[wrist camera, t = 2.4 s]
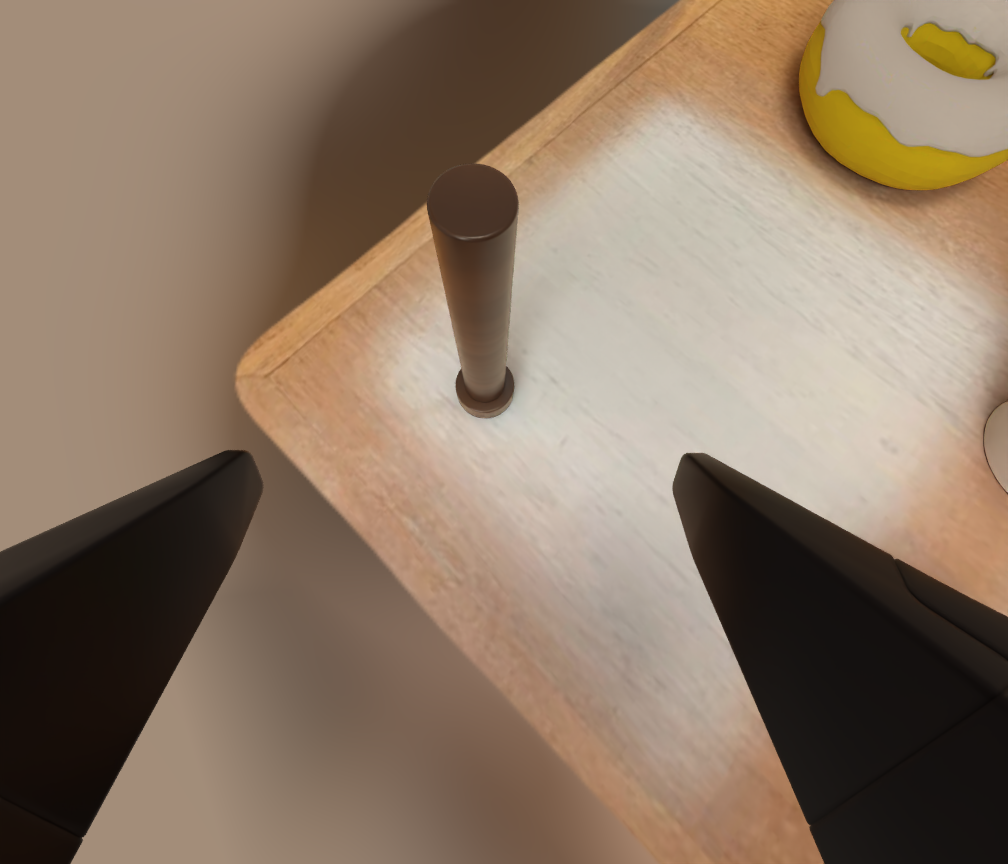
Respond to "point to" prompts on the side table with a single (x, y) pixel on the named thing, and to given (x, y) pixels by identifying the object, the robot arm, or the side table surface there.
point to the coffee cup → (998, 443)
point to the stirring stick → (477, 277)
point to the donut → (910, 89)
